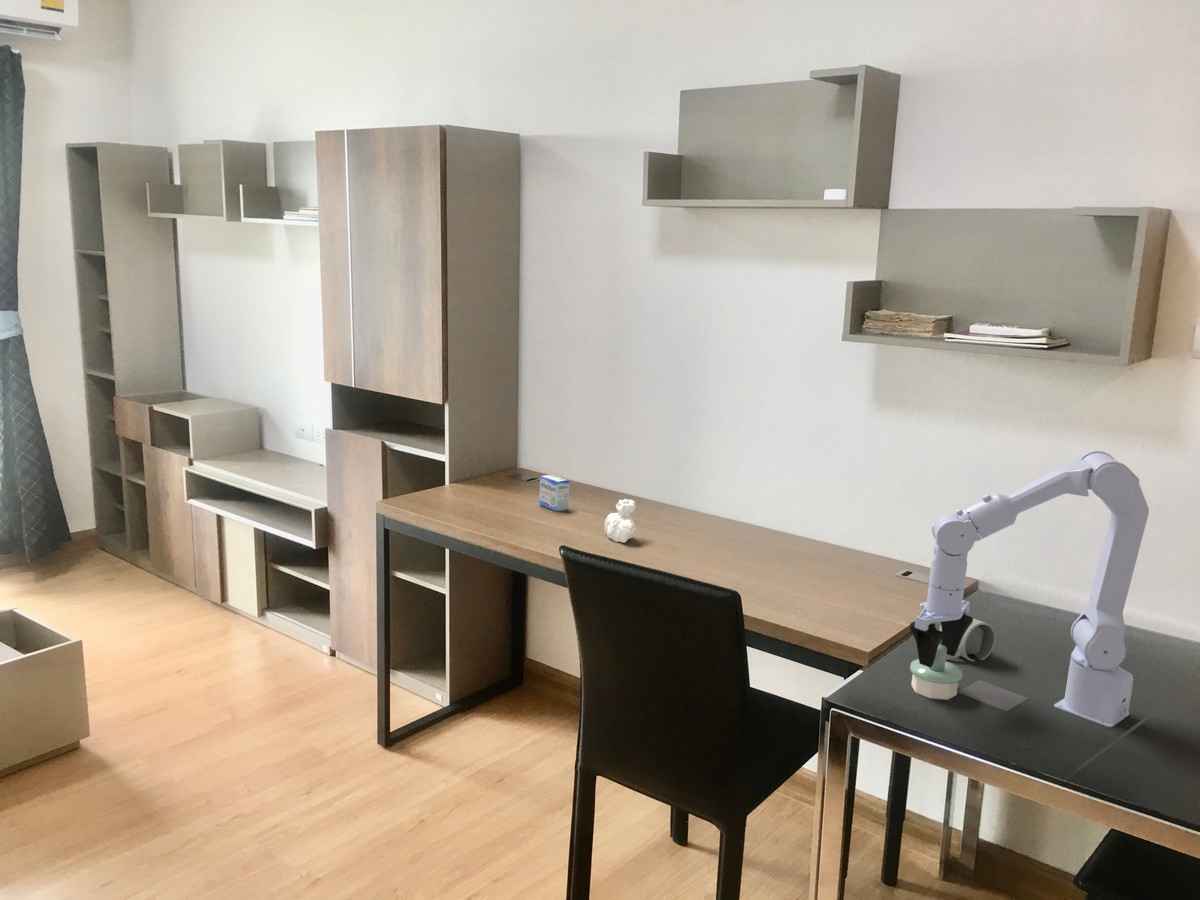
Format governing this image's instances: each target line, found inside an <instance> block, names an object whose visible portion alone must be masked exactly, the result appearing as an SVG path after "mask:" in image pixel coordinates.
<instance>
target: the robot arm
mask: <svg viewBox="0 0 1200 900" xmlns="http://www.w3.org/2000/svg"><path fill="white" fill-rule="evenodd" d="M1089 490H1090V491H1092V492H1093V494H1094V495H1096V497H1097V498H1099V499H1100V500H1101V501H1102V502H1103V503H1104V504H1105V506H1106V508H1108V510H1109V511H1110V513H1111V514H1110V516H1109V517H1110V518H1109V520H1108V521H1109V522H1108V525H1107V528H1106V529H1107V530H1106V533H1105V536H1104V537H1105V538H1104V541H1103V545H1102V550H1101V553H1100V557H1099V561H1098V566H1097V569H1096V573H1095V578H1094V582H1093V585H1092V589H1091V593H1090V597H1089V600H1088V602H1086V603H1085V604H1084V605H1083V606H1082V608H1081V612H1080V614H1079V615H1078V617H1077V619H1076V620H1075V621H1074V622H1073V623H1072V624H1071V627H1070V637H1071V639H1072V641H1073V642H1074V644H1075V647H1074V649H1073V650H1072V651H1071V654H1070V659H1069V660H1070V661H1069V667H1068V674H1067V681H1066V686H1065V693H1064V698H1062V699H1061V700H1059V701H1058V702H1056V703H1054V705H1053V707H1054V708H1057V709H1059V710H1061V711H1064V712H1067V713H1070V714H1072V715H1075V716H1078V717H1081V718H1082V719H1083V718H1084V719H1085V720H1088V721H1091V722H1094V723H1097V724H1100V725H1103V726H1104V727H1107V728H1113V727H1114V726H1115V725H1118V723H1121V721H1122V720H1124V719H1126V718H1127V717H1128V716H1129V715H1130V712H1129V710H1130V703H1131V697H1132V692H1133V686H1134V676H1133V673H1131V672H1129V671H1127V670H1125V669H1123V668H1122V667H1120V665H1121V664H1122V662H1124V660H1125V657H1126V653H1127V649H1126V645H1125V642H1124V637H1125V633H1126V626H1125V621H1124V620H1125V619H1124V609H1125V606H1126V601H1127V597H1128V593H1129V590H1130V586H1131V582H1132V579H1133V575H1134V572H1135V566H1136V563H1137V561H1138V560H1137V559H1138V556H1139V551H1140V548H1141V545H1142V540H1143V537H1144V533H1145V529H1146V524H1147V521H1148V518H1149V514H1150V512H1149V511H1150V510H1149V505H1148V503H1147V500H1146V497H1145V495H1144V492H1143V490H1142V488H1141V485H1140V478H1139V477H1138V476H1137V475H1136V474H1135V473H1134V472H1133V471H1132V470H1131V468H1129V467H1128V466H1127V465H1126V464H1124V463H1122V462H1119V461H1118V460H1117V459H1115V458H1114V457H1113V456H1112V455H1111V454H1109V453H1107V452H1105V451H1102V450H1093V451H1090V452H1089V451H1088V452H1087V453H1085V454H1084V455H1082V456H1081V457H1075V458H1072V459H1070V460H1068V461H1067V462H1066V463H1064V464H1062V465H1061V466H1059V467H1057V468H1056V469H1054V470H1052V471H1050V472H1048V473H1047V474H1045V475H1043V476H1041V477H1039V478H1038V479H1035V480H1034V481H1032V482H1030V483H1028V484H1026V485H1024V486H1022V487H1021V488H1019V489H1018V490H1015V491H1014V492H1012V493H1010V494H1008V495H1005V494H1001V493H994V494H992V495H990V493H987V492H986V493H985V494H983V495H982V496H981V499H982V500H980V501H977V502H976V503H973V504H971V505H970V506H967V507H965V508H961V507H960V508H957V509H956V510H954V512H955V513H952V514H951V513H947V514H943V515H942V516H939V518H938V519H937V520H936V522H935V523H934V524H933V526H932V527H931V530H932V531H931V533H932V536H933V538H934V539H935V540H936V541H935V542H934V546H933V551H932V552H933V554H932V556H931V565H930V570H929V580H928V588H927V596H926V597H927V598H926V601H924V602H921V603H920V604H919V605H920V606H919V607H920V608H921V609H922V611H921V612H920V613H919V614H918V615H917V616H916V617H915V620H914V621H912V622H910V626H909V628H910V631H911V634H912V635H913V638H914V640H915V643H916V648H917V653H918V654H917V655H918V659H919V662H920V664H922V665H925V666H927V667H932V666H933V663H934V660H935V656H936V652H937V648H938V646H939V643H940V641H941V639H942V644H941V645H943V646H945V647H947V653H946V654H948V655H950V656H955V654H956V652H957V650H958V647H959V645H960V642H961V640H962V638H963V635H964V634H965V632H966V630H967V629H968V627H969V626H970V625H971V624H972V622H973V618H974V617H972V616H970V615H967V614H968V613H969V612H970V607H971V606H970V605H971V603H970V601H967V600H964V593H965V592H964V591H965V585H966V578H967V577H966V576H967V575H966V574H967V569H968V568H967V567H968V555H969V552H970V550H972V548H973V547H974V544H975V543H976V542H978V541H981V540H983V539H985V538H987V537H989V536H991V535H994V534H996V533H998V532H1000V531H1002V530H1004V529H1006V528H1008V527H1009V526H1012V525H1014V524H1015V522H1016V520H1017V517H1018V515H1019V514H1020V513H1022V512H1025V511H1027V510H1030V509H1032V508H1034V507H1037V506H1038V505H1042V504H1043V503H1046V502H1048V501H1051V500H1053V499H1055V498H1057V497H1060V496H1062V495H1065V494H1068V495H1069V494H1070V495H1074V496H1080V497H1081V496H1082V497H1090V494H1089ZM937 624H941V627H942V631H939V629H937V627H936V625H937ZM1125 717H1126V718H1125Z"/></svg>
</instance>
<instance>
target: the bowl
mask: <svg viewBox="0 0 1200 900" xmlns="http://www.w3.org/2000/svg"><path fill="white" fill-rule="evenodd" d="M910 684H911V687H912V689H913V691H914V692H915V693H917V695H918V694H919V695H921V696H924V697H926V698H929V699H935V700H950V699H952V698H954V697H955V696H957V695H958V693H957V692H958V685H959V682H957V683H953V684H940V683H933V682H929V681H926V680H923V679H921V678H918V677H917V676H915V675H914V674H913V673H912V677H911V683H910Z"/></svg>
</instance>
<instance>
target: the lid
mask: <svg viewBox="0 0 1200 900" xmlns="http://www.w3.org/2000/svg"><path fill="white" fill-rule="evenodd" d="M946 653H947V647H945V646H943V645H942V644H941V645H940V644H939V646H938V648H937V652H936V656H935V660H934V663H933V666H932V667H927V666H925V665H922V664H920V662H919V658H918V659H914V660H913V661H911V663H910V666H909V667H910V668H909V671H910V672H911V673H912V675H913V674H914V675H915V676H917V677H918V678H921V679H923V680H926V681H929V682H933V683H940V684H953V683H957V682H958V683H959V682H961V681H962V680H963V671H962V669H961V668H960V667H959V666H958V665H956V664H953V663H952V662H949V661H947V660H946Z"/></svg>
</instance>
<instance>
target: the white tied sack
mask: <svg viewBox="0 0 1200 900" xmlns="http://www.w3.org/2000/svg"><path fill="white" fill-rule="evenodd" d="M636 507H637V503H636V502H635V501H634V500H633V499H627V498H624V499H623V500H622V499H619V500H618V503H616V504H615V508H616V510H617V512H611V513H610V514H608V515H607V517H606V518H605V520H604V524H603V528H604V532H605V534H606V537H607V538H609V539H610V540H612V541H614V542H616V543H617V542H619V543H623V544H624V543H626V542H627V541H628V540H630V539H632V538H634V536H635V531H636V530H637V528H636V524H635V522H634V519H632V517H631V514H633V513H634V511H635V509H636Z"/></svg>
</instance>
